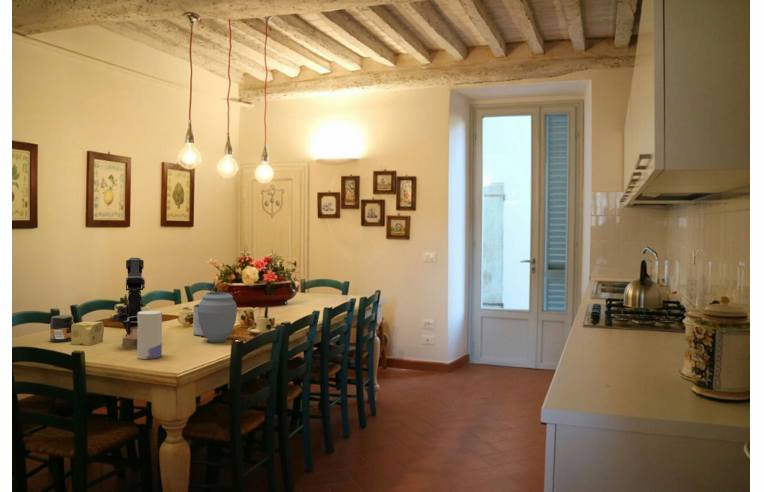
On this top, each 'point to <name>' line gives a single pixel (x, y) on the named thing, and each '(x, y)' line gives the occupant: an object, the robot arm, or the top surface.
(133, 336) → the pink cube
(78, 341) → the cheese
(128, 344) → the mauve short cylinder
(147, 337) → the container
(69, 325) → the supplement container
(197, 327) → the planter
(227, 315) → the vase
